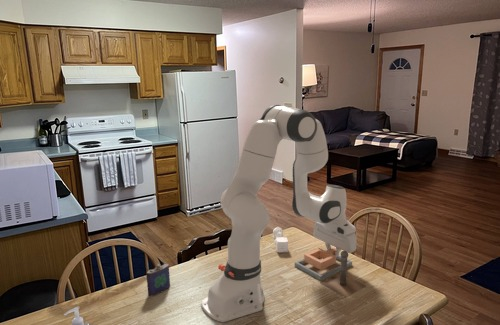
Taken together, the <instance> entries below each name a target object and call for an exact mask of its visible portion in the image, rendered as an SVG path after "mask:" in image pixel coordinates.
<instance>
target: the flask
mask: <svg viewBox="0 0 500 325" xmlns="http://www.w3.org/2000/svg"><path fill="white" fill-rule="evenodd" d="M145 275H146V282H147V283H146V284H147V295H148V297H154V296H156V295H159V294H161V293H162V292H164V291H166V290H169V288H170V287H171V281H170V278H171V277H170V276H171V275H170V265H169V263H164V264H160V263H156V266H155V267H154V268H153V269H149V270H147V272H146V273H145Z"/></svg>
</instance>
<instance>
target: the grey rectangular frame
mask: <svg viewBox="0 0 500 325" xmlns="http://www.w3.org/2000/svg"><path fill="white" fill-rule="evenodd" d="M323 250H324V251H327V249H323ZM336 261H339V262H341V255H339V256H338V257H336ZM305 264H308V263H307V262H305V261H304V258H302V259H299V260H298V261H295V262H294V268H298V269H299V270H300V271H302V272H304V273H306V274H308V275H310V276H312V277H313V278H314V279H317V280H318V281H324V280H326V279H328V277H329V278H330V277H332V276H334V274H335V275H336V273H337V274H338V273H340V271H341V264H340V265H338V266H336V267H333V268H331V269H330V270H327V271H325V272H323V273H318V272H316V271H314V270H312V269H310V268H309V267H307V266H305ZM351 266H353V261H352V260H350V259H348V258H347V268H350V267H351Z"/></svg>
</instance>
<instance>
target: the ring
mask: <svg viewBox="0 0 500 325" xmlns="http://www.w3.org/2000/svg"><path fill="white" fill-rule="evenodd" d="M331 248H332V247H331ZM324 250H325V249H322V248H321V247H319V248H317V249H314V250H311V251H310V252H307V253H305V254H303V257H304V258H303V259H304V261H305V262H307V263H306V264H308V265H311V266H312V267H314V268H316V269H318V270H320V271H321V270H324V269H326V268H329V267H331V266H333V265H335V264H336V263H337V259H336V256H335V255H334V252H335V251H336V250H337V249H336V247H333V248H332V249H330V250H327V249H326V250H327V251H324ZM319 258H320V259H319Z"/></svg>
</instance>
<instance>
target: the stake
mask: <svg viewBox="0 0 500 325" xmlns="http://www.w3.org/2000/svg"><path fill="white" fill-rule="evenodd" d="M340 256H341V261H340V265H341V271H339V272H338V273H337V274H335V275H332V276H330V277H329V278H326V279H324V280H321V282H320V283H319V284H321V285H322V286H324V287H326V288H328V289H329V290H331V291H333V292H335V293H336V294H339V295H340V296H342V297H344V298H348V297H349V296H351V295H353V294H355V293H357V292H359V291H360V290H362V289H364V288H365V287H367V285H365V284H363V283H362V282H359V281H357V280H356V279H353V278H351V277H350V276H348V275H347V273H348V272H347V270H348V267H347V259H348V257H349V253H348V252H346V251H343V250H341V251H340Z"/></svg>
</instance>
